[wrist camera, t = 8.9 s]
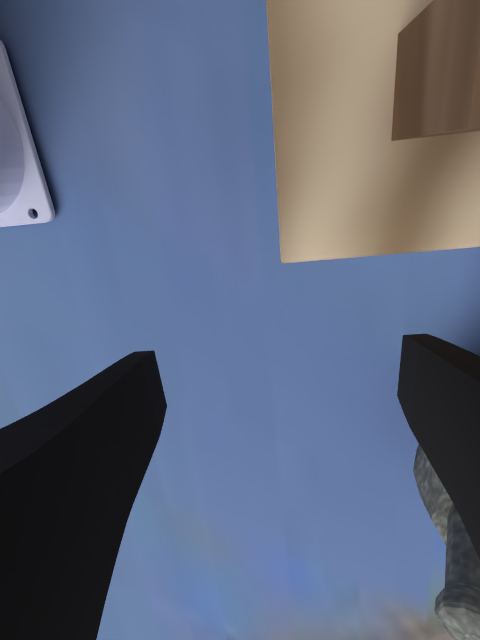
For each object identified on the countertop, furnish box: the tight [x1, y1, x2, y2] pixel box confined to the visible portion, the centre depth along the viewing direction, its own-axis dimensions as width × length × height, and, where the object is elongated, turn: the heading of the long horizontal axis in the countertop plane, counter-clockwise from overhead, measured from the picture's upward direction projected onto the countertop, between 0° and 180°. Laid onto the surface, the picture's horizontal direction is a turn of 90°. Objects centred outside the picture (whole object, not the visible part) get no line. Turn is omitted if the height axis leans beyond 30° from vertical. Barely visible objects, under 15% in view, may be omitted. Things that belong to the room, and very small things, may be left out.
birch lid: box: [266, 0, 480, 263], centre depth 9 cm, size 11×11×6 cm
